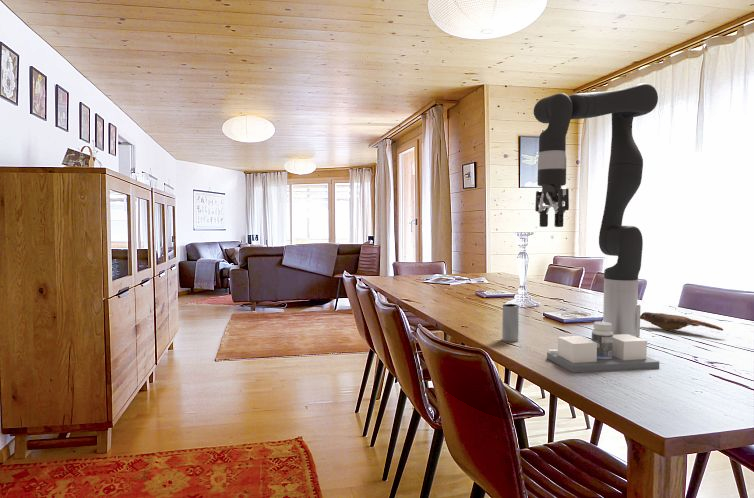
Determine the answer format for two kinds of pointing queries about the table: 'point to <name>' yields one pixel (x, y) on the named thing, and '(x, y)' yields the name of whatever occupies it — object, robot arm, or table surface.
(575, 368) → the rail board
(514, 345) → the table surface
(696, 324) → the bird sculpture
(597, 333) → the pill bottle
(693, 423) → the table surface
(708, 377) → the table surface
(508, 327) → the planter
